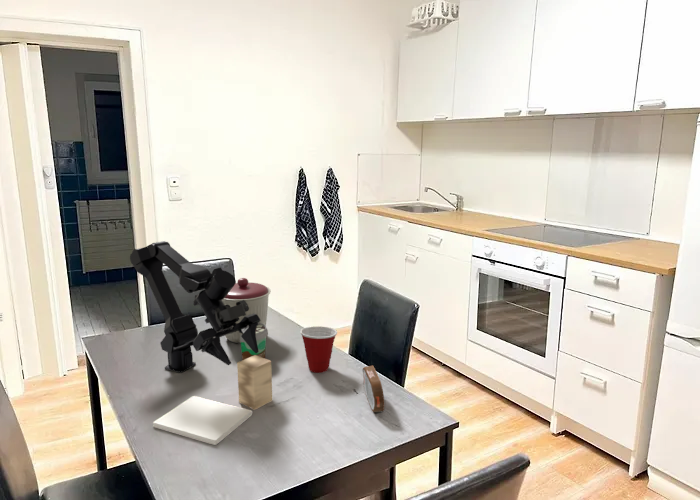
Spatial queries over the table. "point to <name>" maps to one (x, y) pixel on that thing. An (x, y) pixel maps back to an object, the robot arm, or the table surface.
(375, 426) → the table surface
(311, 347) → the plastic cup
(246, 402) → the wooden block
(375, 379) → the tin
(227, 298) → the canister
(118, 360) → the table surface
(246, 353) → the food container
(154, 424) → the cutting board
